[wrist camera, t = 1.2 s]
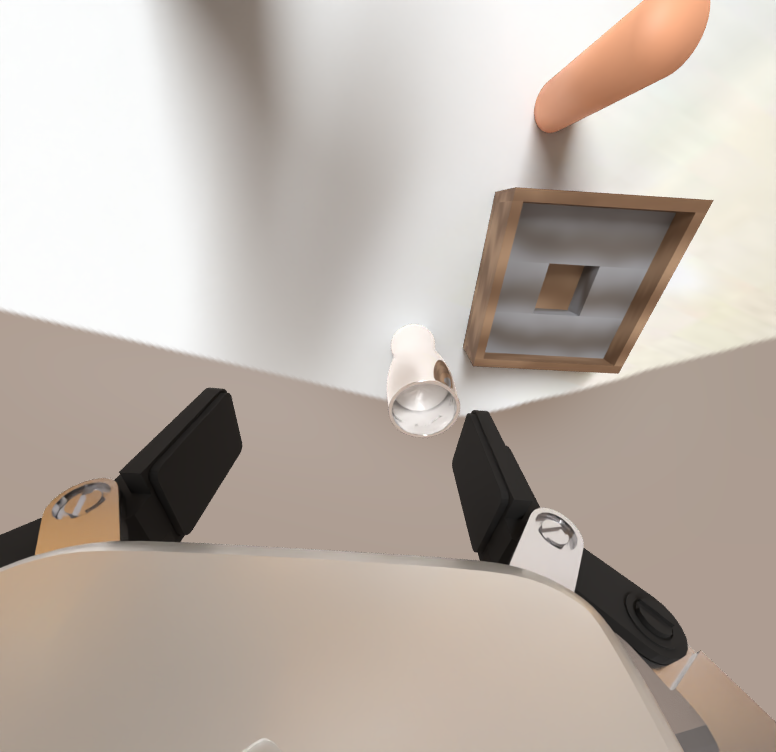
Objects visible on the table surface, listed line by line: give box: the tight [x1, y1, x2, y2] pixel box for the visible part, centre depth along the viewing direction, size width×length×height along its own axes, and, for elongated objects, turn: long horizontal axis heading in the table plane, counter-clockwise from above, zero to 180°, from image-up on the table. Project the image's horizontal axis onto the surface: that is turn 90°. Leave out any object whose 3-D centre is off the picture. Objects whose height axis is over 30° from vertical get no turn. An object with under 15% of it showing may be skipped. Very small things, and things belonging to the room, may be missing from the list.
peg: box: [534, 0, 710, 133], centre depth 21 cm, size 4×4×12 cm
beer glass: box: [387, 324, 460, 438], centre depth 32 cm, size 7×7×15 cm
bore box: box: [463, 187, 713, 374], centre depth 32 cm, size 18×18×6 cm
